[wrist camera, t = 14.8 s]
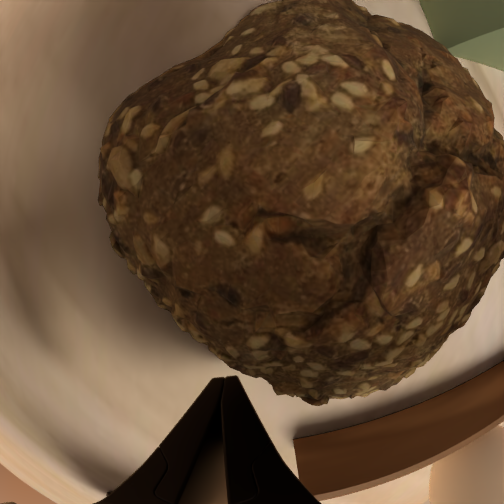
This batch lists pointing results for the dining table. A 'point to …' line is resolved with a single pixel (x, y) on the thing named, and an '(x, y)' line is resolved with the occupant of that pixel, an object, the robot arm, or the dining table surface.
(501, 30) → the block
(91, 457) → the dining table surface
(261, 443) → the robot arm
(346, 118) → the bread roll
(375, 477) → the corral
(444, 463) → the sauce bottle
